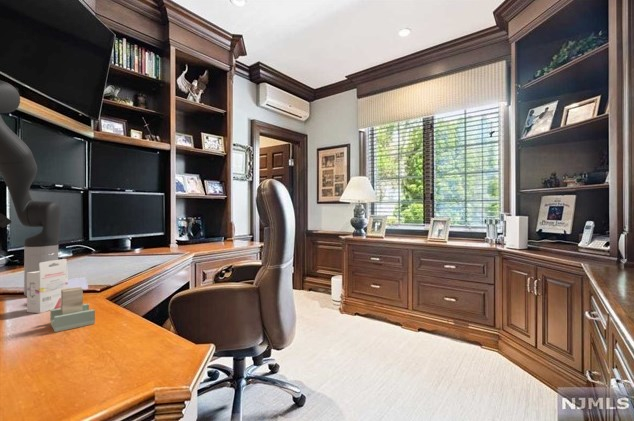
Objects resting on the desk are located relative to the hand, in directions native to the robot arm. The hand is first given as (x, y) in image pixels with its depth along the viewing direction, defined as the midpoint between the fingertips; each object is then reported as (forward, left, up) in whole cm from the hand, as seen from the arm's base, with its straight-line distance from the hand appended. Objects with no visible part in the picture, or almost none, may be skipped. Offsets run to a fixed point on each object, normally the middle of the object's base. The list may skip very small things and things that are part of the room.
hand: (7, 224), depth 77 cm
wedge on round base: (-25, +14, -26) cm, 39 cm away
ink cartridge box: (-15, +9, -26) cm, 32 cm away
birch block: (+6, +12, -25) cm, 29 cm away
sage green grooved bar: (+6, +12, -26) cm, 30 cm away
